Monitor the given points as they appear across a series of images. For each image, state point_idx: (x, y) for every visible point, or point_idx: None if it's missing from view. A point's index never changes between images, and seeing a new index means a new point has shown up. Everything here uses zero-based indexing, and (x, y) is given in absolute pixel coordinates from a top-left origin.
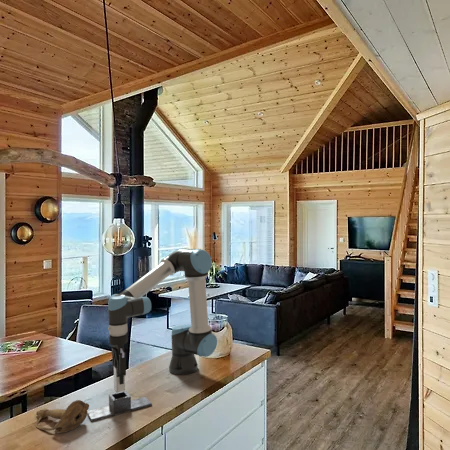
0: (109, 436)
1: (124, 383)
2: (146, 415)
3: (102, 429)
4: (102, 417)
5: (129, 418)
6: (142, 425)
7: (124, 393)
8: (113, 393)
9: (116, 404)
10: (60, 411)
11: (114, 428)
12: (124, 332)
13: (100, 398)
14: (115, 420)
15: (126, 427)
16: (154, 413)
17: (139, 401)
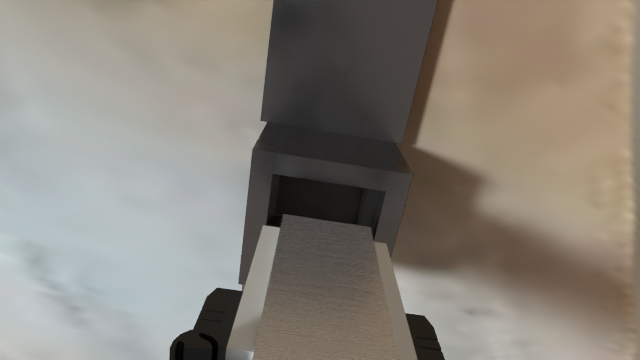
0: (559, 344)
1: (378, 275)
2: (539, 89)
3: (467, 341)
4: None
5: (478, 193)
6: (624, 177)
7: (289, 172)
8: (246, 252)
9: None
10: None
11: (510, 299)
12: None
13: (65, 206)
14: (432, 261)
15: (557, 252)
16: (565, 26)
17: (335, 33)
